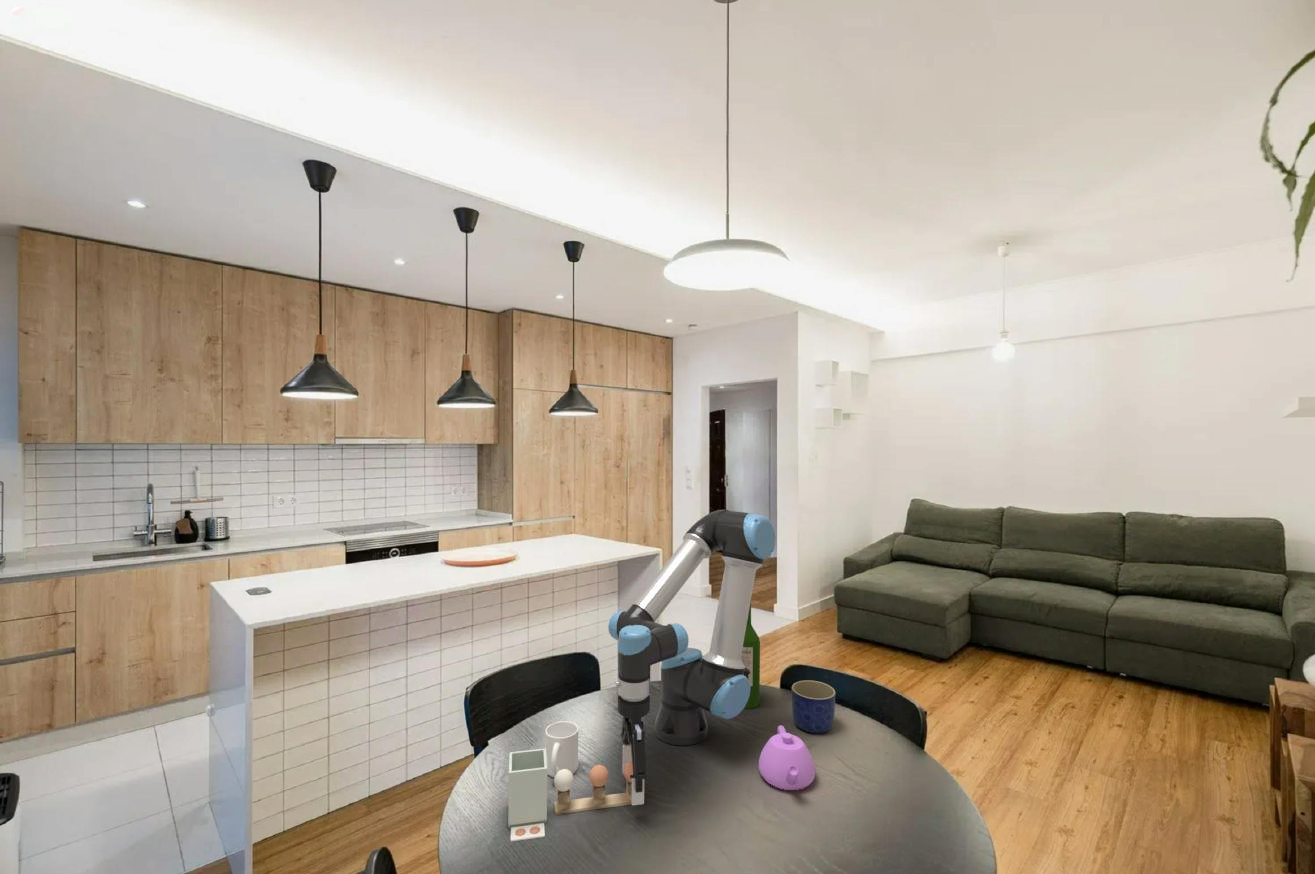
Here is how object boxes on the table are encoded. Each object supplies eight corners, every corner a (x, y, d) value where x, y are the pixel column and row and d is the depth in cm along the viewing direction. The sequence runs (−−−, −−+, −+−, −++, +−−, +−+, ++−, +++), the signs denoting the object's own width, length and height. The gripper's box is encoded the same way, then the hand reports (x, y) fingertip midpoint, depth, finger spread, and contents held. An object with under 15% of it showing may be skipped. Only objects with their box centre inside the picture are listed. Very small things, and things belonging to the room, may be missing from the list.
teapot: (764, 803, 135) (765, 758, 135) (754, 755, 155) (754, 715, 155) (824, 806, 134) (825, 760, 134) (806, 757, 154) (807, 717, 154)
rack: (639, 793, 138) (639, 774, 138) (642, 802, 135) (642, 783, 135) (554, 804, 134) (554, 785, 134) (555, 814, 130) (555, 795, 130)
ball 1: (572, 782, 135) (572, 763, 135) (574, 794, 131) (574, 774, 131) (553, 785, 134) (553, 766, 134) (554, 796, 130) (554, 777, 130)
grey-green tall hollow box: (545, 799, 135) (545, 748, 135) (546, 822, 127) (547, 768, 127) (509, 804, 134) (509, 752, 133) (508, 828, 126) (508, 772, 125)
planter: (800, 711, 179) (801, 676, 179) (840, 724, 172) (841, 687, 172) (784, 728, 169) (784, 691, 169) (826, 742, 162) (826, 703, 162)
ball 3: (640, 774, 138) (640, 755, 138) (644, 785, 134) (644, 766, 134) (622, 776, 137) (622, 758, 137) (625, 787, 133) (625, 768, 133)
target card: (544, 824, 127) (544, 822, 127) (544, 836, 123) (544, 834, 123) (511, 828, 125) (511, 827, 125) (510, 841, 121) (510, 839, 121)
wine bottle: (730, 707, 181) (731, 603, 181) (731, 694, 190) (732, 595, 190) (759, 710, 180) (760, 605, 179) (759, 697, 189) (760, 597, 188)
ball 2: (606, 778, 137) (607, 759, 137) (609, 789, 132) (609, 770, 132) (588, 780, 136) (588, 762, 136) (590, 792, 131) (590, 773, 131)
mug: (568, 790, 139) (569, 747, 139) (535, 787, 140) (535, 744, 140) (581, 761, 151) (581, 722, 151) (550, 759, 152) (551, 720, 152)
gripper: (610, 674, 146) (609, 760, 147) (626, 721, 123) (625, 823, 123) (639, 672, 148) (638, 756, 148) (661, 718, 125) (660, 818, 125)
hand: (632, 787), depth 136 cm, fingers open, 12 cm apart
